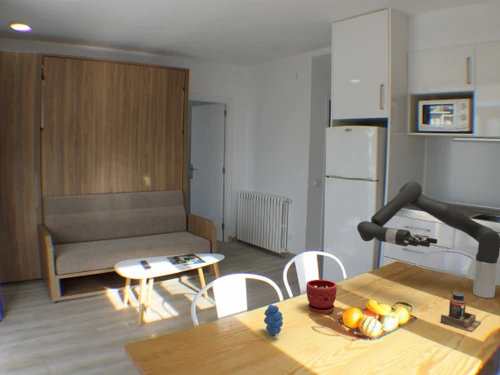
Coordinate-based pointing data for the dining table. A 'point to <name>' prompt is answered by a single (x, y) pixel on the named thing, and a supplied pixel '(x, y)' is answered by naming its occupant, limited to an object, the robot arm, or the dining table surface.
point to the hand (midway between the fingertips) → (433, 243)
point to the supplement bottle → (457, 306)
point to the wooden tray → (461, 322)
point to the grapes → (273, 320)
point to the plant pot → (321, 295)
